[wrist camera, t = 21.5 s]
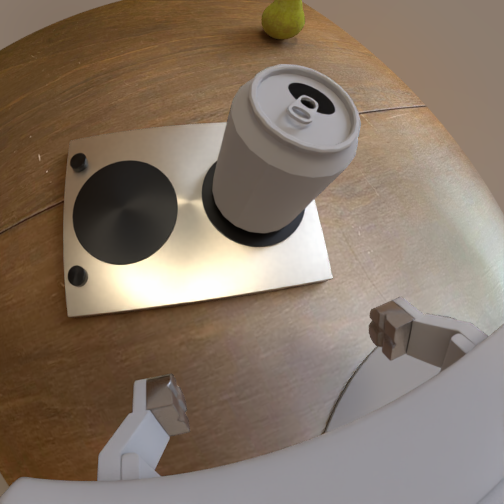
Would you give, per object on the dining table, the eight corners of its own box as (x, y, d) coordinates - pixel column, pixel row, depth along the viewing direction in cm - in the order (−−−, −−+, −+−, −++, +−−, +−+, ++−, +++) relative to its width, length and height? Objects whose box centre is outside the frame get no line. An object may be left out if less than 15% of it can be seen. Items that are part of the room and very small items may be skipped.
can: (310, 185, 26) (384, 104, 15) (273, 254, 24) (350, 191, 13) (239, 142, 26) (277, 39, 15) (193, 205, 24) (206, 104, 12)
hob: (74, 317, 21) (63, 316, 19) (73, 148, 24) (67, 135, 22) (325, 281, 26) (337, 277, 24) (287, 130, 30) (295, 117, 27)
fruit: (302, 40, 35) (333, -21, 24) (281, 52, 33) (311, -17, 22) (272, 22, 35) (295, -39, 24) (248, 32, 33) (270, -36, 22)
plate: (437, 266, 30) (444, 264, 29) (502, 403, 29) (508, 404, 27) (258, 457, 21) (261, 463, 20) (386, 551, 20) (391, 554, 19)
